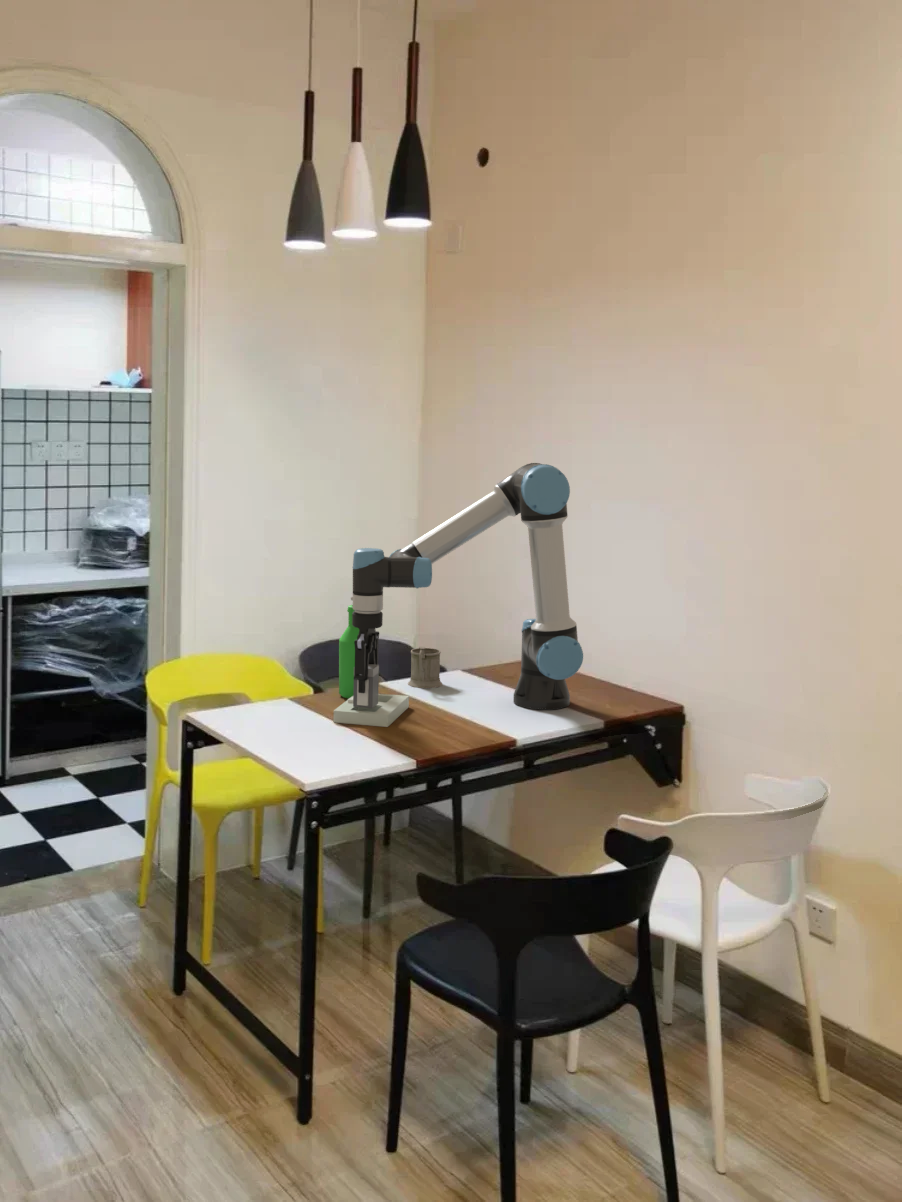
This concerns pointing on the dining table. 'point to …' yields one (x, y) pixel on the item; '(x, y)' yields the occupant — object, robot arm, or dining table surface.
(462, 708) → the dining table surface
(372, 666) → the plug
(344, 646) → the bottle
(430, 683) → the mug
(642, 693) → the dining table surface
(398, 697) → the socket plate
